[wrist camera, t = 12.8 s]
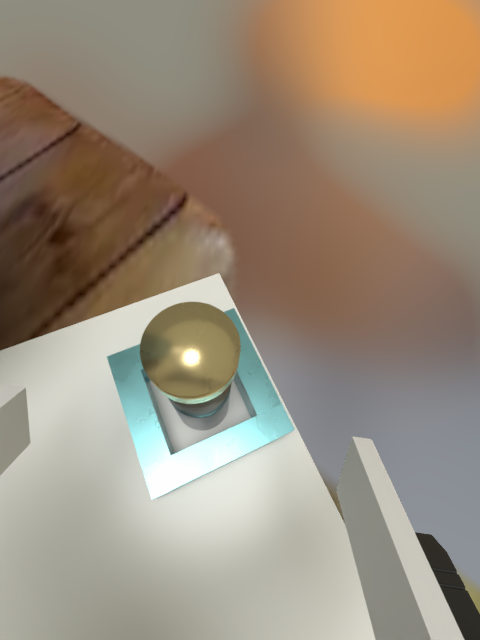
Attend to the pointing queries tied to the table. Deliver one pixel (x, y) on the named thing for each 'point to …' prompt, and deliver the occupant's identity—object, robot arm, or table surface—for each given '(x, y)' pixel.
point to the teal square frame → (210, 454)
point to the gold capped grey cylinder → (192, 360)
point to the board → (159, 512)
